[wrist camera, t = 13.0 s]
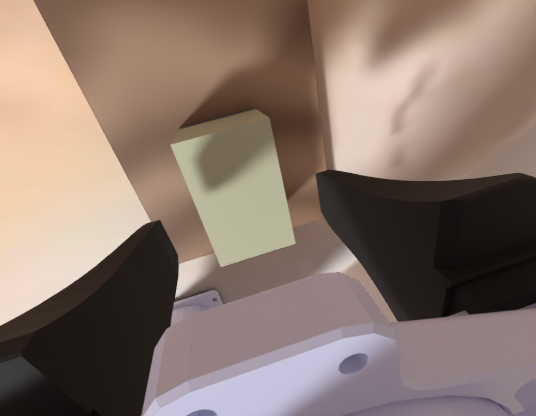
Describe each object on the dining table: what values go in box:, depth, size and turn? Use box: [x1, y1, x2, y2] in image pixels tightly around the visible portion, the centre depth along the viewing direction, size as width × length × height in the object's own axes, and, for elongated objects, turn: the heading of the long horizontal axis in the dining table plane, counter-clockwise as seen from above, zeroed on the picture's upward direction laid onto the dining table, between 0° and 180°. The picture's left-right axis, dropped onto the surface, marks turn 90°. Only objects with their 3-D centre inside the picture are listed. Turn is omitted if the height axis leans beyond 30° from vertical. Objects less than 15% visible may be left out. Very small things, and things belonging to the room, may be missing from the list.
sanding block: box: [170, 107, 296, 267], centre depth 17 cm, size 8×5×5 cm, turn 13°
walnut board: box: [34, 0, 327, 264], centre depth 18 cm, size 18×14×2 cm
